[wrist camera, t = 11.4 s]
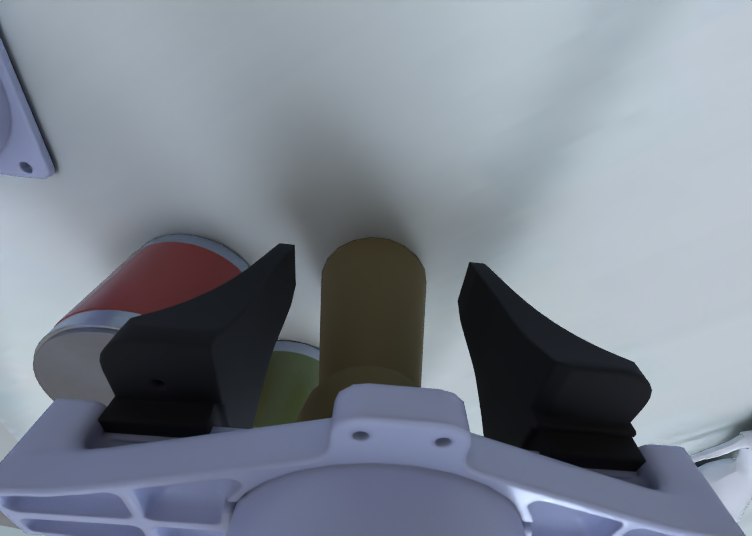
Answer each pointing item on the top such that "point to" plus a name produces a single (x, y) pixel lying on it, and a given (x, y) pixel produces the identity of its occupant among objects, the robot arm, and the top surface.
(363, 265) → the cork
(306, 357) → the green tin
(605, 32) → the top surface
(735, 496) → the woman figurine
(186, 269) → the red tin
